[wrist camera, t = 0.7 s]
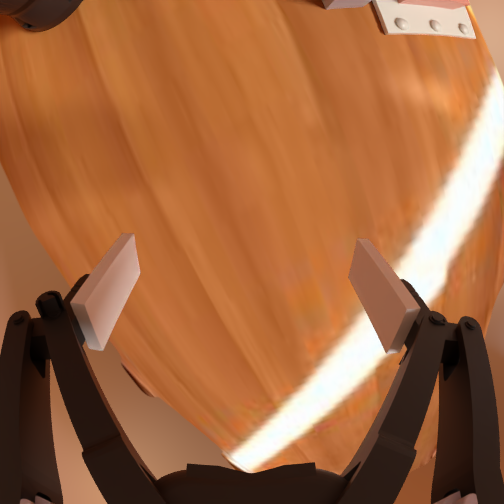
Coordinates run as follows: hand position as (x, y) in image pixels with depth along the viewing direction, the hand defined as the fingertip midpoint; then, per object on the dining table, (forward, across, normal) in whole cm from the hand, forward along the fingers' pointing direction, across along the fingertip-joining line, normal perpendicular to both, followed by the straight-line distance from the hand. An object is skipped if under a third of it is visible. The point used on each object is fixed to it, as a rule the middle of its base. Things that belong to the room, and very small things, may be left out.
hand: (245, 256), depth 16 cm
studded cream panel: (+26, +26, +34) cm, 50 cm away
